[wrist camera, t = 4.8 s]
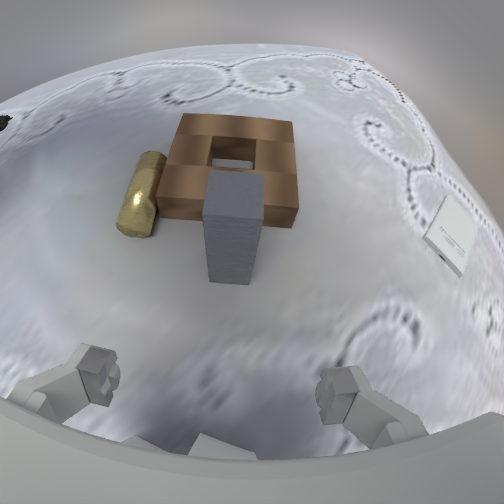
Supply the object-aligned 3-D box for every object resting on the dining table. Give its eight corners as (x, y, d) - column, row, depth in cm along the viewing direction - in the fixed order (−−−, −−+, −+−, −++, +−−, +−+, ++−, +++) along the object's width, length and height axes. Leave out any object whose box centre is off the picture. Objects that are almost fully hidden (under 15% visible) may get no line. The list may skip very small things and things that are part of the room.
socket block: (161, 217, 32) (155, 196, 28) (185, 134, 39) (183, 113, 35) (291, 228, 33) (299, 207, 29) (287, 142, 40) (292, 121, 36)
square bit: (209, 281, 29) (202, 214, 18) (213, 247, 31) (210, 169, 20) (248, 285, 29) (263, 219, 19) (250, 250, 31) (264, 174, 21)
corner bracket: (254, 452, 22) (276, 495, 11) (211, 536, 16) (206, 603, 6) (148, 407, 23) (96, 416, 12) (111, 493, 17) (54, 534, 7)
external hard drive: (474, 231, 37) (457, 279, 33) (443, 199, 40) (420, 240, 35) (480, 226, 36) (464, 274, 31) (448, 193, 38) (426, 234, 33)
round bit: (137, 241, 31) (157, 231, 29) (109, 226, 29) (128, 213, 27) (156, 176, 36) (175, 163, 34) (133, 160, 33) (152, 146, 31)
